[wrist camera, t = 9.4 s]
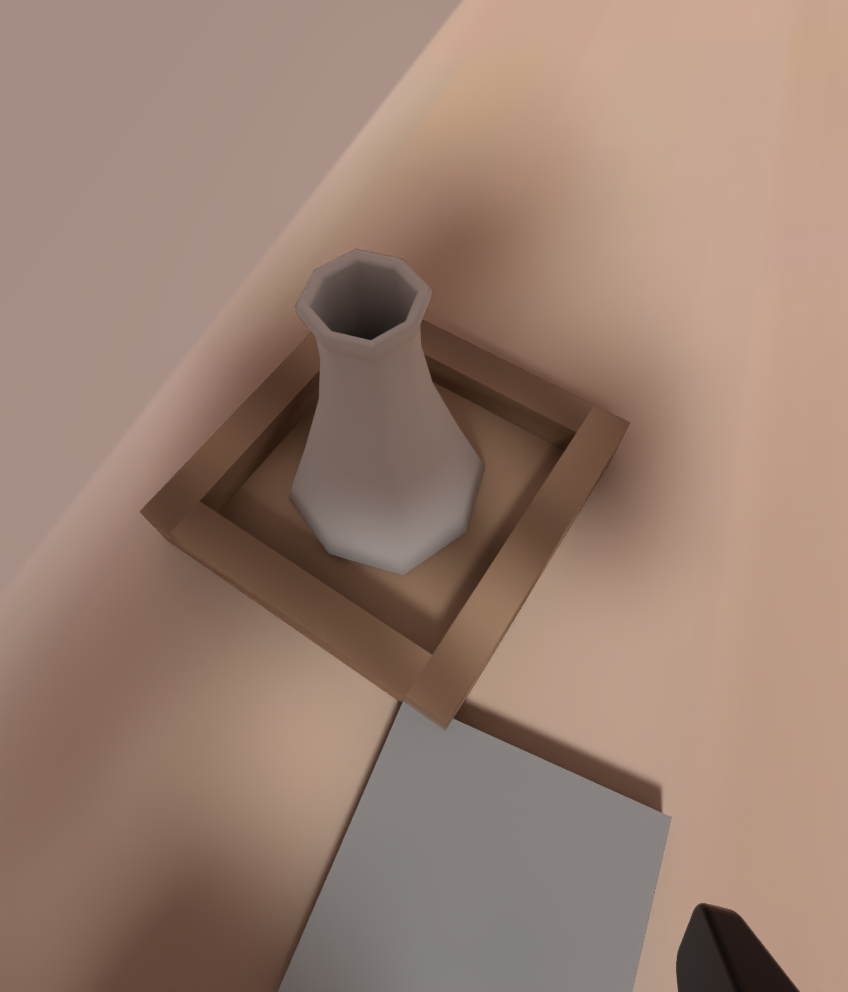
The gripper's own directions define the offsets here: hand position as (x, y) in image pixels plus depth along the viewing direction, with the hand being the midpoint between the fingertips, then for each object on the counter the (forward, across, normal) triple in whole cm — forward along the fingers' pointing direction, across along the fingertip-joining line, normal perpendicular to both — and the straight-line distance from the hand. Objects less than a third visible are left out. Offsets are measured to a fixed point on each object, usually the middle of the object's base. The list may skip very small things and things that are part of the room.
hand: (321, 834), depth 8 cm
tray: (+18, +2, +2) cm, 18 cm away
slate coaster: (+8, -3, +11) cm, 14 cm away
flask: (+17, +3, +1) cm, 17 cm away
